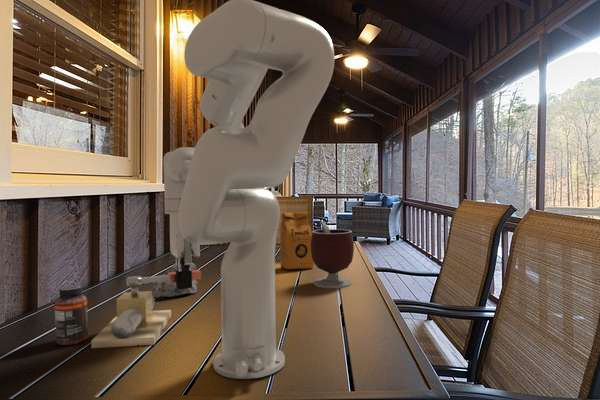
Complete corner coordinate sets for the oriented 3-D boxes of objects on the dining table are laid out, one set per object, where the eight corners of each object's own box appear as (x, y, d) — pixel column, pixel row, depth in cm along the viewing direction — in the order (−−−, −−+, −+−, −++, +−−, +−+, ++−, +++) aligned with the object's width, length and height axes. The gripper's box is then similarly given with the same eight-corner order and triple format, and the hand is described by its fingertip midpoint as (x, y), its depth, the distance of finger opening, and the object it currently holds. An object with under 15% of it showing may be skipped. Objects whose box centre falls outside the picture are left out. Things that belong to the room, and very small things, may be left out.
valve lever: (127, 287, 90) (127, 279, 90) (126, 284, 93) (125, 276, 93) (201, 279, 98) (201, 271, 98) (198, 276, 101) (198, 269, 100)
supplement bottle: (81, 333, 91) (79, 282, 91) (93, 339, 87) (92, 286, 87) (51, 341, 86) (49, 287, 86) (63, 348, 83) (61, 292, 82)
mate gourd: (362, 286, 131) (361, 222, 131) (322, 290, 126) (321, 224, 126) (339, 276, 146) (339, 219, 145) (302, 280, 141) (302, 221, 140)
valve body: (138, 338, 84) (137, 296, 83) (107, 339, 83) (106, 297, 83) (158, 310, 102) (157, 276, 102) (133, 311, 102) (132, 277, 101)
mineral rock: (151, 301, 117) (151, 266, 116) (154, 292, 127) (153, 259, 127) (199, 297, 120) (198, 263, 120) (197, 289, 130) (197, 257, 130)
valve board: (154, 344, 84) (154, 337, 84) (91, 348, 83) (91, 340, 83) (171, 316, 103) (171, 309, 103) (120, 318, 101) (120, 312, 101)
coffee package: (316, 269, 159) (316, 212, 158) (285, 272, 155) (284, 213, 154) (308, 265, 168) (307, 210, 168) (278, 267, 164) (277, 211, 164)
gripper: (207, 207, 89) (209, 292, 89) (191, 205, 102) (193, 280, 102) (170, 208, 85) (173, 297, 86) (159, 206, 99) (161, 283, 99)
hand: (184, 287), depth 94 cm, fingers closed
